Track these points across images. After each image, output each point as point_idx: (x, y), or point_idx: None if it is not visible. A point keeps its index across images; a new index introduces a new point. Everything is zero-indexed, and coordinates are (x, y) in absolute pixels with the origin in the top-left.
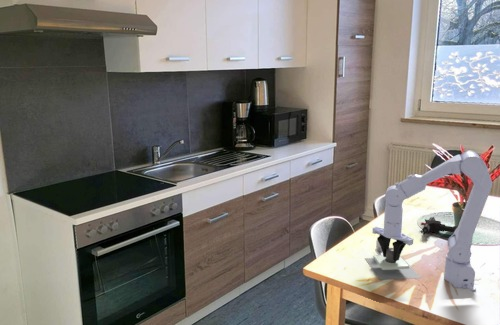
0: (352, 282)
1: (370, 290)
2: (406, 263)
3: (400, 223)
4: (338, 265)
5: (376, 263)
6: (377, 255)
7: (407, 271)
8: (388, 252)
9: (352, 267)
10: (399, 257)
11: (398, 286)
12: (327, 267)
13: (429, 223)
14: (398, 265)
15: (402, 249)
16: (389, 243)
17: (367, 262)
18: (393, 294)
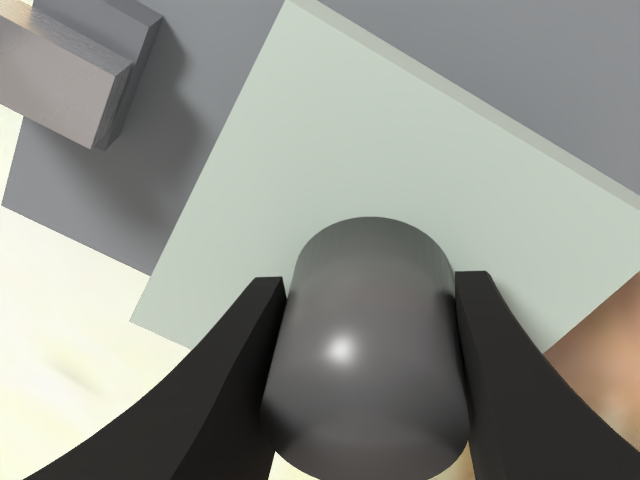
0: (294, 474)
1: (456, 476)
2: (606, 196)
3: None
4: (13, 377)
5: (167, 200)
6: (147, 287)
7: (564, 74)
8: (372, 471)
9: (87, 331)
10: (385, 97)
11: (596, 314)
12: (19, 440)
13: None
14: (540, 323)
15: (583, 410)
16: (211, 418)
17: (103, 252)
18: (626, 426)
